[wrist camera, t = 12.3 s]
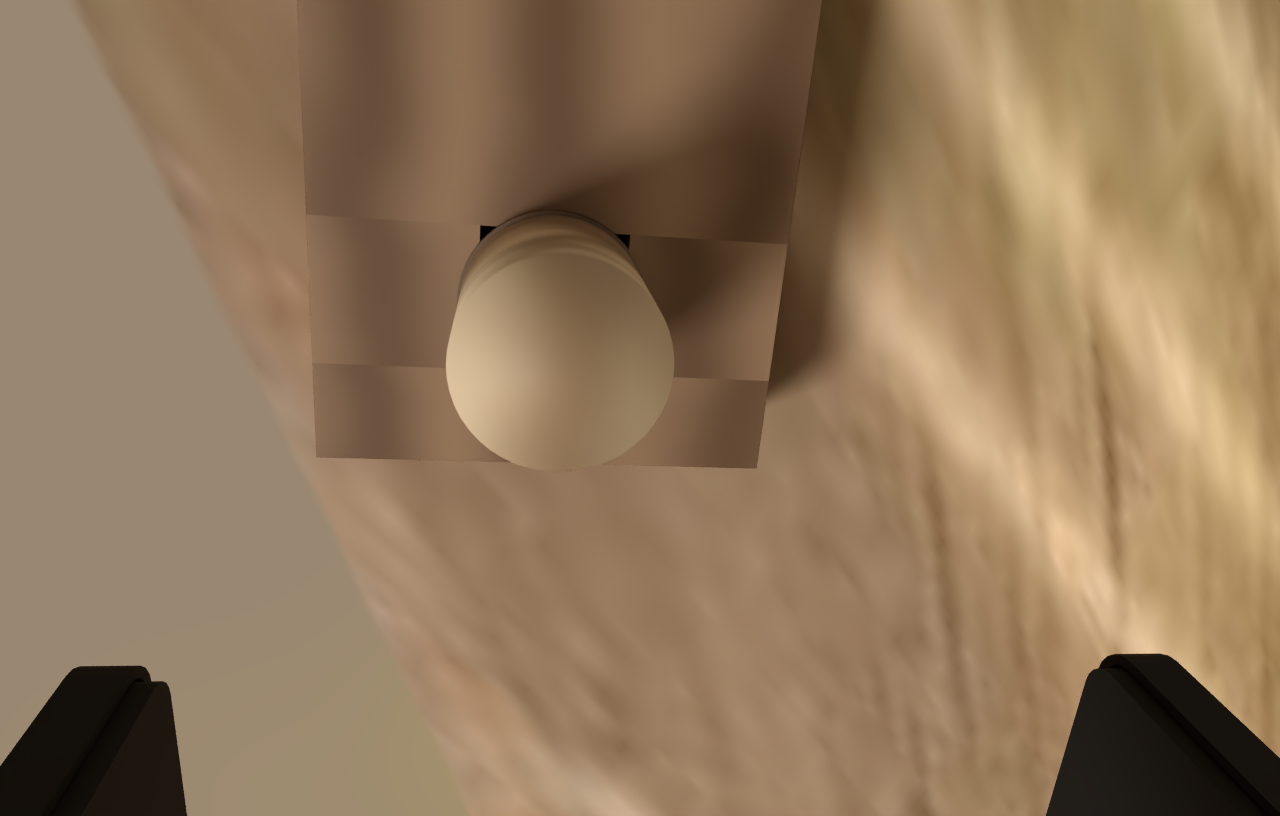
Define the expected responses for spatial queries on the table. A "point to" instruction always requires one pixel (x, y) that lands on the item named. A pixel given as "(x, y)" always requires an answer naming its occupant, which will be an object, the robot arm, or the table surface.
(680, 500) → the table surface
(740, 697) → the table surface
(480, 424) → the peg
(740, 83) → the board
